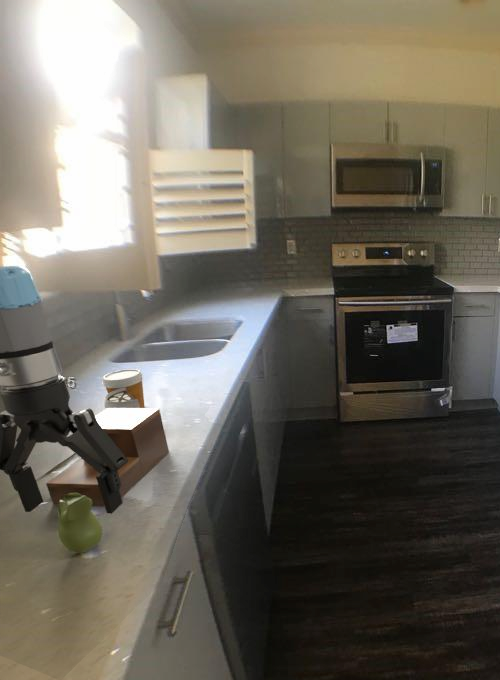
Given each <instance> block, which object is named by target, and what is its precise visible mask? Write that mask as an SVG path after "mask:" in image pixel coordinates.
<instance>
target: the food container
mask: <svg viewBox="0 0 500 680" xmlns="http://www.w3.org/2000/svg"><path fill="white" fill-rule="evenodd" d="M104 408H105V410H106V409H107V408H140V405H139V402H138V399H136V400H135V399H134V398H133V397H132V396H131V395H130V394H128V393H127V392H126V388H125V387H124V388H120V389H117V390H115V391H112V392H111V393H109V394H108V393H107V394H106V395H105V397H104Z"/></svg>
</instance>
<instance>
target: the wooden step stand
mask: <svg viewBox="0 0 500 680" xmlns="http://www.w3.org/2000/svg"><path fill="white" fill-rule="evenodd" d="M95 418H96V420H97V422H98V423H99V425H100V426H101V427H102V428H103V430H104V431H105V432H106V433H107V434H108V436H109V437H110V438H111V439H112V441H113V442H114V443H115V444H116V446H117V447H118V448H119V449H120V451H121V452H122V453H123V454H124V455H125V457H126V458H127V459H128V463H126V464H125V465H124V466H123V467H122V468H121V469H119V470H118V471H117V472H118V475H119V479H120V482H121V487H120V488H119V491H120V495H121V498H123V497H125V495H127V493H129V492H130V491H131V490H132V489H133V488H134V487H135V486H136V485H137V484H138V483H139V482H140V481H141V480H142V479H143V478H144V477H146V475H148V474H149V473H150V472H151V471H152V470H153V469H154V468H155V467H156V466H157V465H158V464H159V463H160V462H162V461H163V459H165V458H166V456H167V455H169V454H170V450H169V445H168V442H167V436H166V433H165V429H164V424H163V420H162V415H161V410H160V408H148V407H147V408H146V407H145V408H107V409H106V408H105V409H104V410H101V412H99V413H97V414H95ZM104 466H106V464H105V463H104ZM99 474H100V473H99V472H98V471H96V470H95V469H94V468H93V467H92V466H90V465H89V464H88V463H87V462H86V461H84V460H83V459H82V458H81V457H79V459H77V460H76V461H75V462H74V463H72V464H70V465H69V466H68V467H67V468H65V469H63V470H62V471H61V472H60V473H58V474H57V475H55V476H54V477H53V478H52V479H50V480H49V481H47V482H46V483H45V485H46V488H47V490H48V493H49V496H50V499H51V503H52V505H53V506H54V505H55V506H56V505H57V506H58V505H59V501H60V500H62V499H63V498H64V495H68V494H70V493H79V494H80V495H83V496H87V497H88V498H90V499H91V500H92V507H105V505H104V501H103V498H102V495H101V492H100V488H99V485H98V482H97V479H96V476H97V475H99Z"/></svg>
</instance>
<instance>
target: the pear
mask: <svg viewBox="0 0 500 680" xmlns="http://www.w3.org/2000/svg"><path fill="white" fill-rule="evenodd" d="M92 507H93V506H92V500H91V499H90V498H88V497H87V496H83V495H80V494H79V493H70V494H68V495H64V498H63V499H62V500H60V501H59V505H57V511H56V512H57V518H58V521H59V524H58V529H57V530H58V531H57V533H58V538H59V541H60V543H61V544H62V545H63V547H64V548H65V549H67V550H68V551H70V552H71V553H76V554H77V553H78V554H81V553H86V552H89V551H91V550H92V549H94V548H96V546H97V545H98V544H99V543H100V541H101V540H102V536H103V527H102V525H101V522H100V521H99V519H98V517H97V516H96V514H95V513H93V512H92V510H91V509H92Z"/></svg>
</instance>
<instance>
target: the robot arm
mask: <svg viewBox="0 0 500 680" xmlns="http://www.w3.org/2000/svg"><path fill="white" fill-rule="evenodd" d="M62 372H63V369H62V365H61V361H60V360H59V356H58V353H57V350H56V346H55V345H54V341H53V337H52V334H51V330H50V326H49V323H48V320H47V317H46V313H45V309H44V306H43V303H42V299H41V294H40V292H39V290H38V289H37V287H36V283H35V282H34V278H33V276H32V274H31V272H30V271H29V269H27V268H26V267H24V266H20V265H8V266H7V265H5V266H0V398H1V400H2V403H3V406H4V409H5V410H2V411H1V412H0V471H3V472H4V474H6V475H7V476H8V477H9V480H10V482H11V484H12V487H13V489H14V490H15V491H16V492H17V494H18V496H19V499H20V501H21V504H22V507H23V509H24V512H25V513H31V512H32V511H33V510H35V509H36V508H38V507H39V506H40V505H41V504H42V503H44V498H43V496H42V493H41V491H40V488H39V485H38V483H37V480H36V477H35V475H34V472H33V469H32V467H31V466H30V465H27V464H29V462H27V461H28V459H29V457H30V455H31V454H32V451H33V450H34V448H35V446H36V444H41V443H45V442H47V443H52V444H56V443H58V444H59V445H61V446H62V447H67V448H69V450H71V451H72V452H73V453H74V454H76V455H77V456H78V457H79V458H82V459H83V460H84V461H86V462H87V463H88V464H89V465H90V466H92V467H93V468H94V469H95V470H96V471H98V472H99V473H100V474H99V475H97V476H96V479H97V482H98V485H99V488H100V492H101V495H102V498H103V501H104V505H105V506H104V507H105V511H106V514H109V515H110V514H111V515H112V514H113V513H114V512H115V511H117V510H118V508H120V507H121V506H122V504H124V502H123V499H122V498H123V497H122V498H121V495H120V491H119V488H120V487H121V482H120V479H119V475H118V472H117V471H118V470H119V469H121V468H122V467H123V466H124V465H125V464H126V463H128V459H127V458H126V457H125V455H124V454H123V453H122V452H121V451H120V449H119V448H118V447H117V446H116V444H115V443H114V442H113V441H112V439H111V438H110V437H109V436H108V434H107V433H106V432H105V431H104V430H103V428H102V427H101V426H100V425H99V423H98V422H97V420H96V418H95V416H96V414H95V413H94V410H93V409H92V408H90V407H87V408H85V409H83V410H81V411H75V412H74V411H73V410H72V409H71V407H70V406H69V405H70V404H69V402H70V398H71V394H70V392H69V389H68V388H69V387H68V385H67V382H66V378H65V377H64V376H62V375H61V373H62ZM18 428H19V429H20V432H19V434H18V433H17V432H18ZM70 433H72V434H70ZM17 434H18V436H17ZM69 434H70V435H69ZM104 463H105V464H106V466H104ZM26 465H27V466H26Z"/></svg>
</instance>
